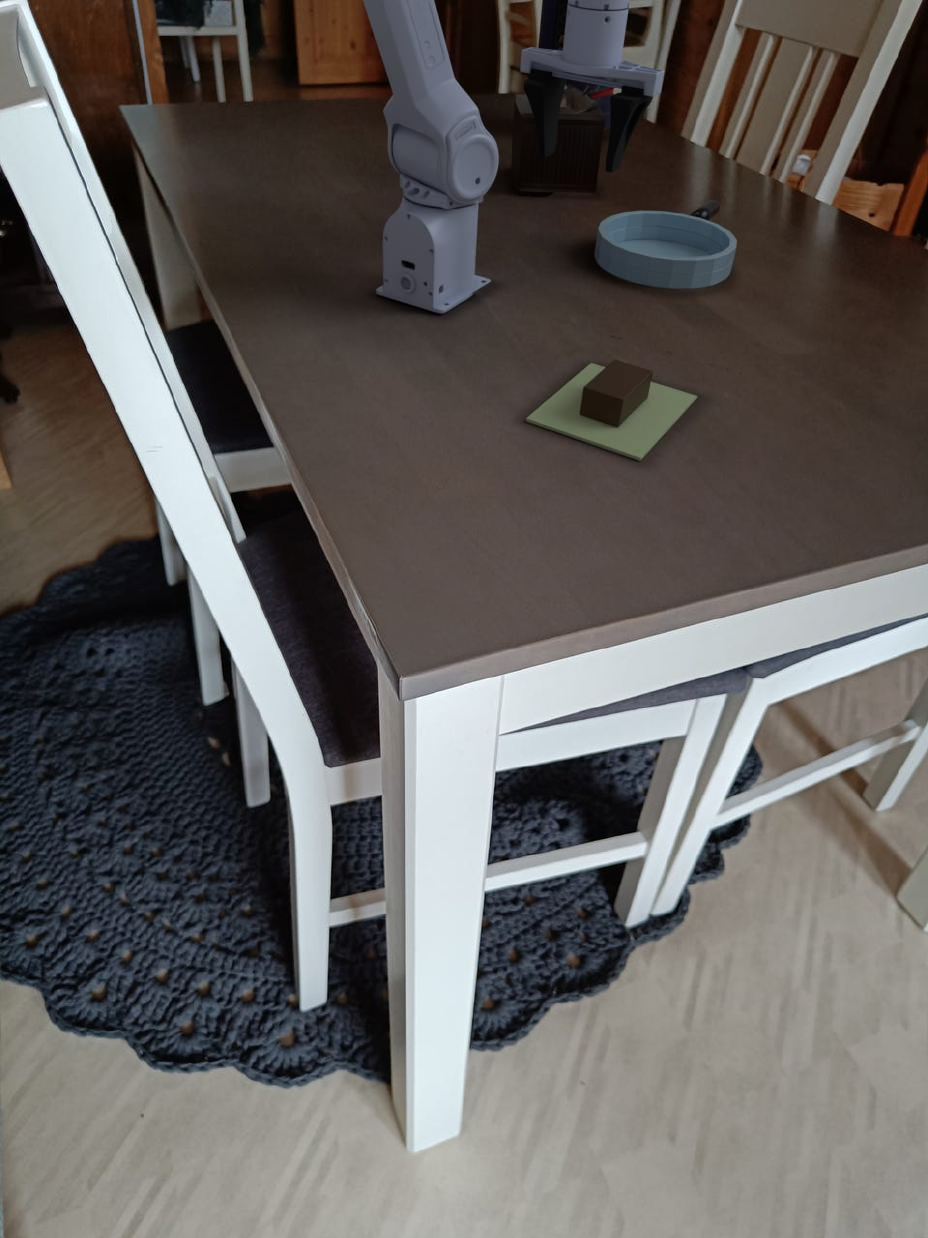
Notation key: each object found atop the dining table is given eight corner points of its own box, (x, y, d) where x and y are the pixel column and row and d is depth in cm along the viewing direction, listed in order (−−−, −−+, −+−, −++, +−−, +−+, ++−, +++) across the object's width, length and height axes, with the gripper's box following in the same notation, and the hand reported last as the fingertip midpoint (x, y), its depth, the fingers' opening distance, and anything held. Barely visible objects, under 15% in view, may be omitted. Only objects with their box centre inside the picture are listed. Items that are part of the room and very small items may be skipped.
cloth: (640, 461, 69) (640, 457, 69) (525, 421, 73) (525, 418, 72) (696, 398, 77) (697, 395, 76) (590, 365, 80) (591, 362, 80)
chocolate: (618, 428, 72) (623, 399, 70) (578, 414, 73) (583, 386, 71) (647, 398, 76) (653, 370, 74) (609, 386, 77) (614, 358, 75)
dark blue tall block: (615, 143, 134) (654, -117, 114) (535, 141, 133) (560, -123, 113) (598, 119, 144) (631, -125, 124) (524, 116, 143) (545, -130, 123)
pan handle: (694, 235, 102) (698, 218, 100) (680, 231, 102) (683, 214, 101) (719, 215, 107) (723, 199, 106) (705, 212, 107) (708, 196, 106)
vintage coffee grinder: (601, 198, 115) (625, 31, 103) (515, 195, 114) (529, 27, 102) (583, 161, 126) (602, 8, 114) (504, 158, 125) (516, 3, 113)
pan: (700, 305, 91) (708, 271, 89) (571, 270, 96) (575, 237, 94) (746, 262, 101) (755, 230, 98) (627, 232, 106) (632, 201, 104)
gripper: (686, 10, 84) (658, 167, 94) (549, -10, 90) (536, 140, 99) (657, 20, 80) (630, 183, 89) (514, -2, 85) (504, 154, 94)
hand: (579, 162), depth 94 cm, fingers open, 7 cm apart
